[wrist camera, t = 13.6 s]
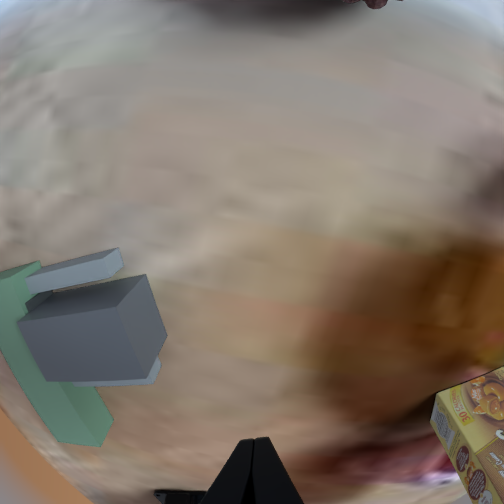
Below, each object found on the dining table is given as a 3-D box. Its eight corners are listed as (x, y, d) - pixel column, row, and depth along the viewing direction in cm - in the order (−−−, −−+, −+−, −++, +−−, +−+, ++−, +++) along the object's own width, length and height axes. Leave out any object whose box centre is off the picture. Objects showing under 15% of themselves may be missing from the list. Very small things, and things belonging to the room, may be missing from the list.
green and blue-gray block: (186, 418, 23) (178, 449, 20) (72, 417, 24) (58, 441, 21) (115, 239, 19) (90, 255, 16) (0, 272, 20) (-27, 287, 17)
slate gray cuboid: (167, 334, 21) (146, 378, 16) (77, 344, 22) (46, 381, 17) (146, 273, 20) (115, 307, 15) (55, 292, 20) (16, 322, 16)
